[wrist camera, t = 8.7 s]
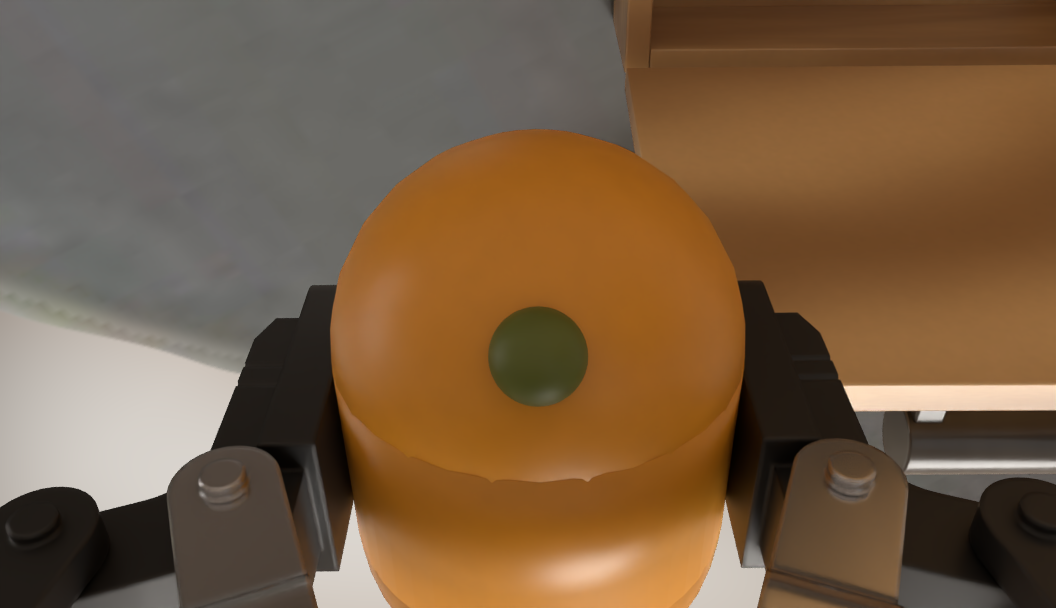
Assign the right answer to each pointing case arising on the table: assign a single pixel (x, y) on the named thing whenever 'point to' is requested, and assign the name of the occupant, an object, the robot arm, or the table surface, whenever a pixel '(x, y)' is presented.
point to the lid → (889, 234)
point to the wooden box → (834, 33)
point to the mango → (538, 379)
